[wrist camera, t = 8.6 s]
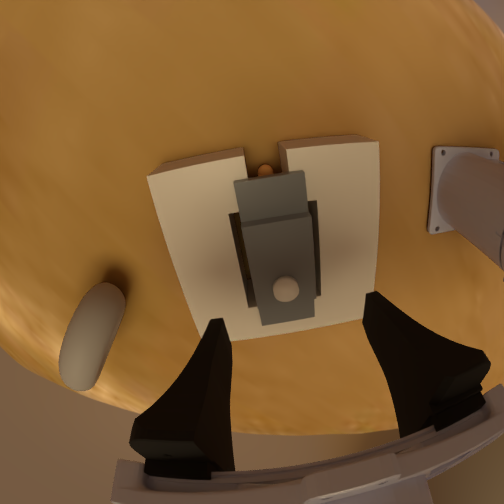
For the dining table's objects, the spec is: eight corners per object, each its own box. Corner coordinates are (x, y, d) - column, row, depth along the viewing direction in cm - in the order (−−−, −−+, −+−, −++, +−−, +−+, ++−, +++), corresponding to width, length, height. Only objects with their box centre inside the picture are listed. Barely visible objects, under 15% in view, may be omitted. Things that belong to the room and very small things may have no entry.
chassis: (356, 134, 18) (378, 141, 15) (356, 290, 25) (370, 316, 22) (161, 164, 18) (146, 176, 15) (206, 315, 25) (203, 344, 22)
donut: (106, 253, 22) (52, 335, 13) (141, 271, 23) (101, 361, 14) (88, 323, 26) (53, 397, 17) (115, 337, 27) (87, 414, 18)
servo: (291, 157, 19) (310, 176, 14) (304, 284, 24) (318, 329, 19) (234, 166, 19) (232, 188, 14) (258, 291, 24) (263, 338, 19)
